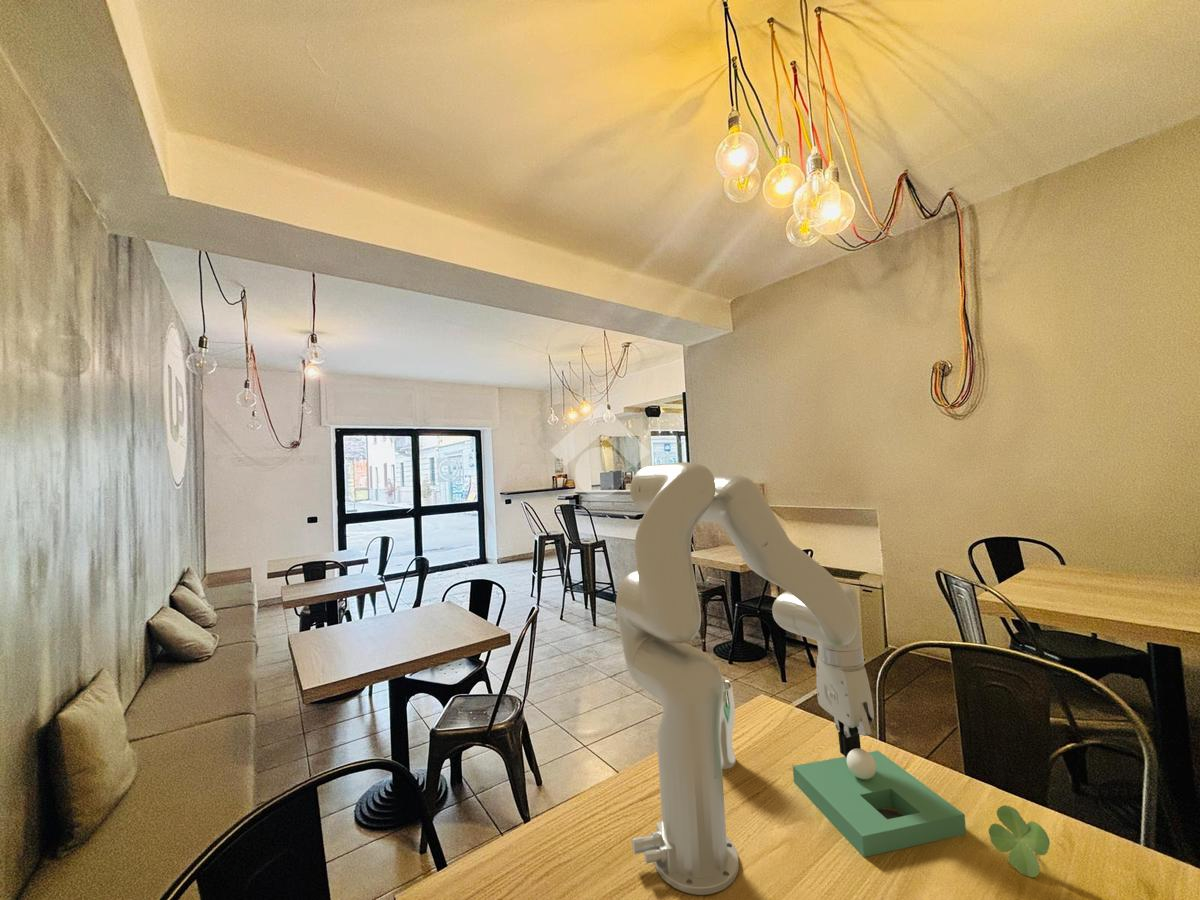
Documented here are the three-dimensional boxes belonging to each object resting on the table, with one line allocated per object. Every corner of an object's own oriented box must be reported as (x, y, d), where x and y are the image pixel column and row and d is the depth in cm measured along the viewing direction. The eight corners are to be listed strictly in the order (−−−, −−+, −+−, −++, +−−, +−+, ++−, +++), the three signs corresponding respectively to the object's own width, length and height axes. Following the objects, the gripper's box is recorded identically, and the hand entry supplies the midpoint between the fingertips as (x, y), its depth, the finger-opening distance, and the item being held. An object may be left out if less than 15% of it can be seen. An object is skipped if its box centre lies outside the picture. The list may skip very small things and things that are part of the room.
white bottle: (710, 747, 102) (706, 674, 103) (743, 757, 98) (738, 681, 99) (696, 764, 97) (692, 687, 98) (730, 775, 93) (725, 695, 93)
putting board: (863, 857, 72) (862, 836, 72) (793, 782, 90) (792, 765, 90) (966, 834, 75) (964, 814, 75) (879, 766, 93) (878, 750, 93)
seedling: (1010, 877, 72) (996, 870, 69) (993, 811, 77) (980, 802, 74) (1073, 887, 68) (1062, 882, 65) (1051, 817, 73) (1039, 808, 70)
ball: (848, 782, 85) (858, 769, 83) (838, 755, 89) (848, 741, 87) (874, 786, 85) (885, 772, 83) (863, 758, 89) (874, 745, 87)
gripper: (798, 643, 97) (807, 736, 96) (850, 673, 82) (862, 784, 81) (831, 637, 98) (841, 729, 98) (889, 666, 83) (900, 774, 83)
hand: (850, 754), depth 89 cm, fingers closed
